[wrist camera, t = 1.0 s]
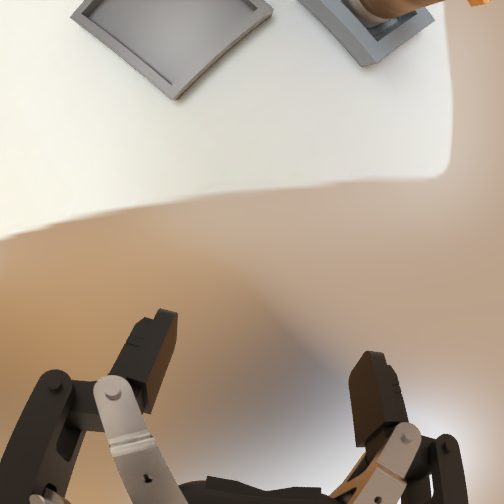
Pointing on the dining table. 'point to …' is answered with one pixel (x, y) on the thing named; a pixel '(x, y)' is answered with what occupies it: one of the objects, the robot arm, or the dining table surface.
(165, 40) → the tool tray
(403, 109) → the dining table surface
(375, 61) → the tool holder
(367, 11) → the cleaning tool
